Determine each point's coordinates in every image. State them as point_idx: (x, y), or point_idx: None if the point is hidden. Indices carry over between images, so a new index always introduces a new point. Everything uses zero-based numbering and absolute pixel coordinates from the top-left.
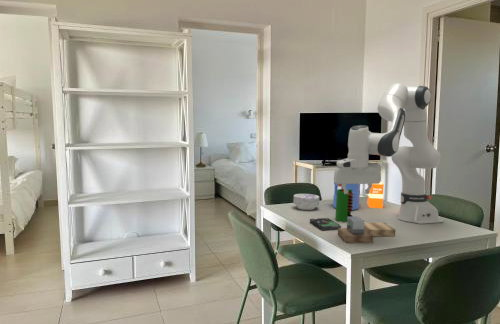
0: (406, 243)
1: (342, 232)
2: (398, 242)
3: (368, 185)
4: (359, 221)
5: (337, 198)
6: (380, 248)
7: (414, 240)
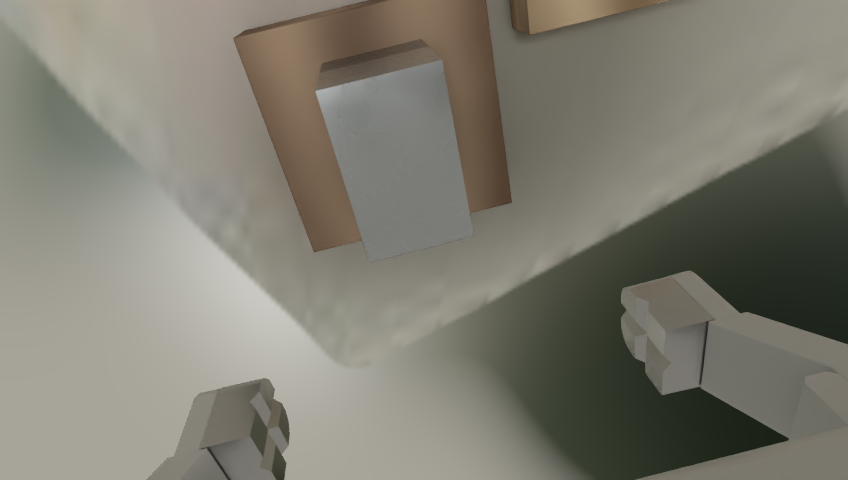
0: (708, 149)
1: (284, 169)
2: (667, 139)
3: (794, 432)
4: (427, 246)
5: None
6: (515, 273)
7: (799, 69)
